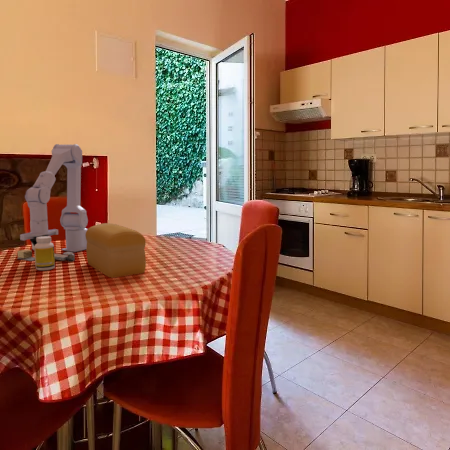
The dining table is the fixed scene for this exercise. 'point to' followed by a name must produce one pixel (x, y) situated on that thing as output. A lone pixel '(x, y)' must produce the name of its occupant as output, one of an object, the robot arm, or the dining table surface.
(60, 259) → the tong arm
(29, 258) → the plate
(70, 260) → the dark-tipped long bar
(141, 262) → the bread
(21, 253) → the block
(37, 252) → the pill bottle
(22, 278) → the dining table surface
